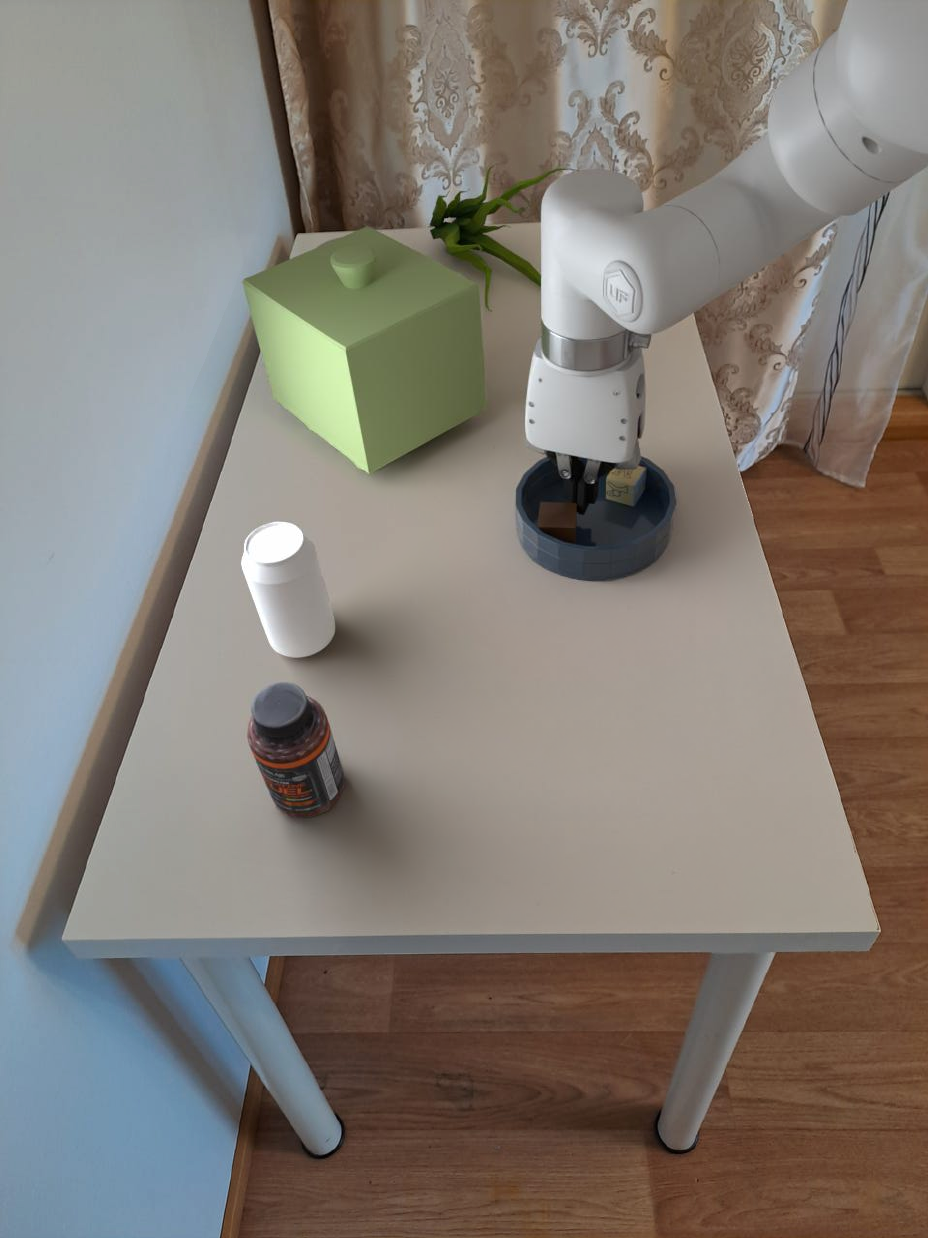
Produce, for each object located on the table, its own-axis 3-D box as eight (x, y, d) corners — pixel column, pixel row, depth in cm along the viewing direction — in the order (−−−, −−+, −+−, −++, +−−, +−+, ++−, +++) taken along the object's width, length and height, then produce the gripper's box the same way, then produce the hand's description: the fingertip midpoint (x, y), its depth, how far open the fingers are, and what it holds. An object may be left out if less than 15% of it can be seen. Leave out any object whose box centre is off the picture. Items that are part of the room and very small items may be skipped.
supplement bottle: (262, 818, 70) (223, 735, 62) (283, 753, 74) (249, 667, 66) (337, 824, 70) (307, 741, 61) (353, 759, 73) (328, 672, 65)
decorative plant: (471, 348, 113) (463, 233, 102) (428, 242, 133) (417, 136, 122) (610, 323, 114) (616, 207, 103) (547, 222, 134) (547, 115, 123)
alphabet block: (633, 508, 90) (635, 484, 88) (604, 499, 91) (605, 476, 89) (645, 490, 92) (647, 466, 90) (616, 482, 93) (618, 458, 91)
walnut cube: (576, 529, 89) (577, 502, 86) (574, 554, 86) (575, 527, 84) (540, 528, 89) (540, 501, 87) (538, 553, 87) (537, 526, 84)
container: (488, 426, 102) (477, 254, 87) (372, 492, 96) (339, 320, 81) (388, 360, 112) (363, 198, 97) (278, 416, 106) (233, 252, 91)
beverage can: (304, 674, 80) (273, 579, 71) (256, 644, 82) (220, 549, 74) (351, 629, 83) (327, 533, 74) (302, 602, 86) (273, 506, 77)
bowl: (686, 492, 92) (691, 461, 89) (650, 596, 83) (654, 565, 80) (544, 465, 97) (543, 435, 94) (495, 561, 87) (493, 531, 84)
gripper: (688, 325, 74) (665, 495, 88) (517, 300, 79) (521, 466, 92) (665, 375, 70) (646, 547, 84) (485, 346, 74) (494, 513, 88)
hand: (580, 504), depth 88 cm, fingers closed
